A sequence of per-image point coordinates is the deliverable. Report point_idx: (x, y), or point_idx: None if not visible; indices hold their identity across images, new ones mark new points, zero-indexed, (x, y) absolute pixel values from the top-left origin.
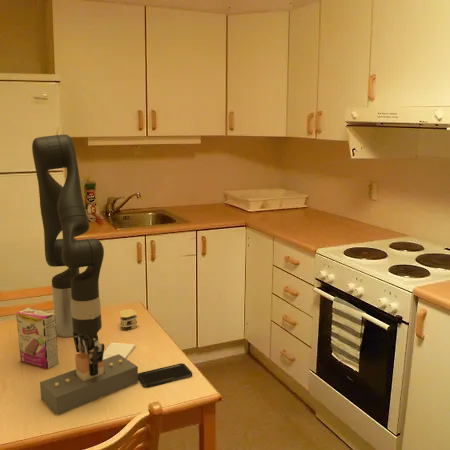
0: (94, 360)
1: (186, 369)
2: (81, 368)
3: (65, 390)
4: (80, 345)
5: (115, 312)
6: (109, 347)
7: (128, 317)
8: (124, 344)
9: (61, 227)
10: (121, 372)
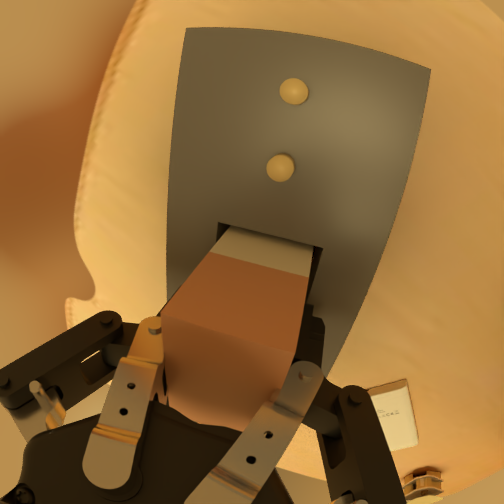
0: (77, 326)
1: None
2: (214, 271)
3: (209, 98)
4: (234, 445)
5: (471, 476)
6: (408, 433)
7: (419, 494)
8: None
9: None
10: None
